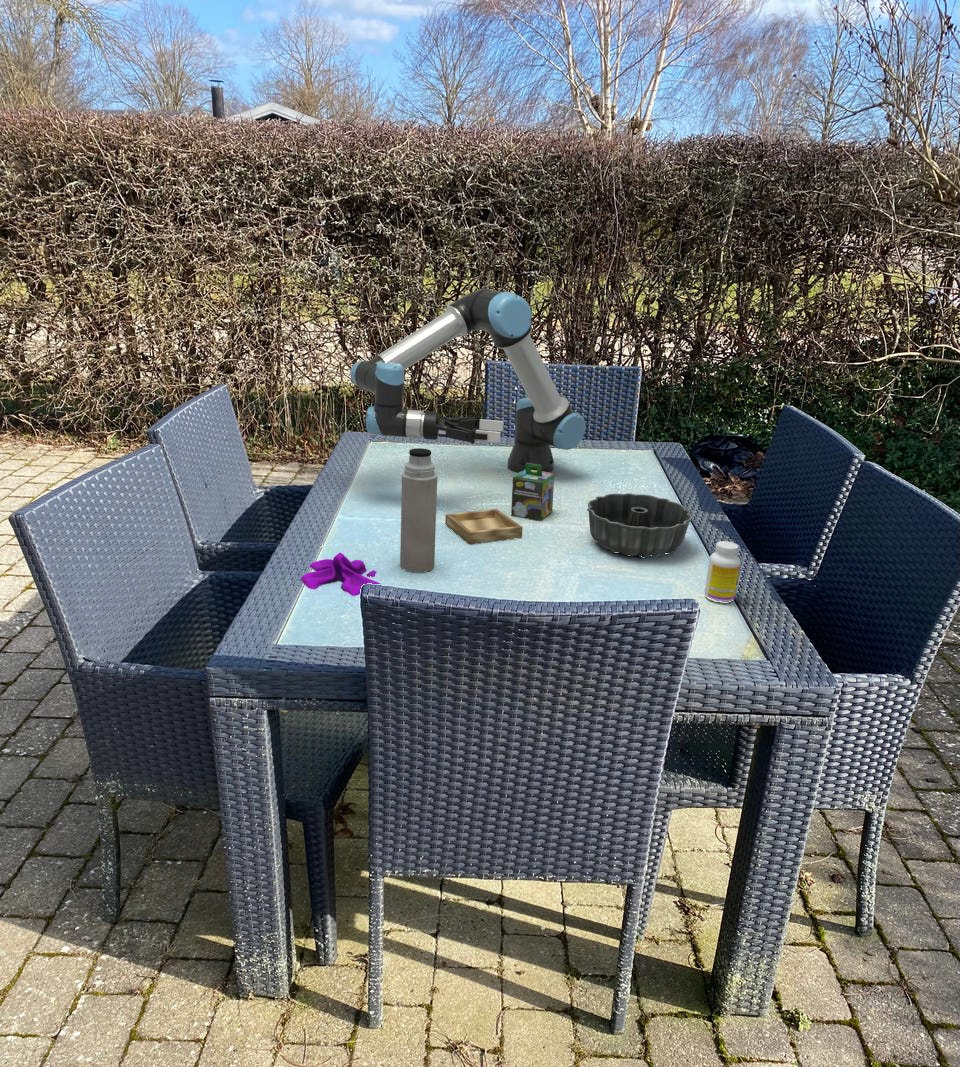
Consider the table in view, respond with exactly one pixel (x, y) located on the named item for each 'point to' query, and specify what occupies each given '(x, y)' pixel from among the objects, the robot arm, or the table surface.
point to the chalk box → (532, 493)
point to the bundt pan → (638, 523)
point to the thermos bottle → (418, 512)
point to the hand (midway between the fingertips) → (501, 431)
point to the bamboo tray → (483, 526)
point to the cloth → (339, 574)
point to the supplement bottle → (723, 572)
